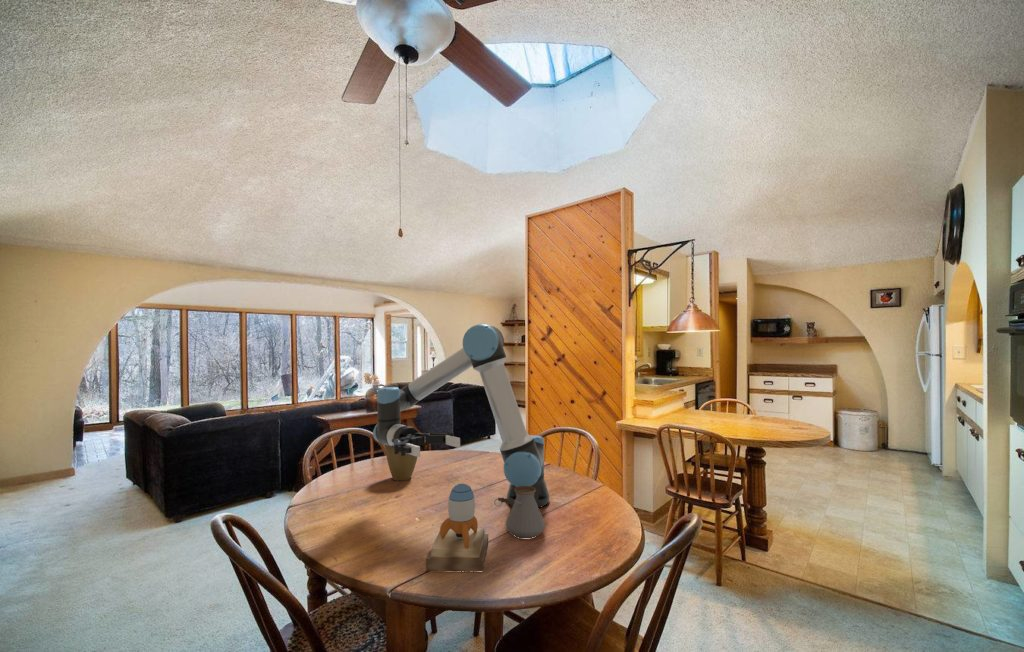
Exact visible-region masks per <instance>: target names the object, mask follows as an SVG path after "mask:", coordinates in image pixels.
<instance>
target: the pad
mask: <svg viewBox="0 0 1024 652" xmlns="http://www.w3.org/2000/svg"><path fill="white" fill-rule="evenodd" d="M488 549H489V533H485V528H484V527H483V528H482V527H477V532H476V533H475V532H474V531H473V530H472V529H470V530H469V547H468V549H466V548H465V546H464V541H463V537H462V538H459V537H457V536H456V533H455V532H454V531H453V530H451V529H450V530H449V531H448V532H447V534H446V535H445V537H444V538H441V536H440V531H439V532H438V533H437V536H436V538H435V540H434V542H433V544H432V546H431V548H430V550H429V552H428V554H427V556H426V558H425V571H461V572H460V573H471V572H470V571H473V572H472V573H475V572H474V571H483V572H484V569H485V564H484V563H486V559H485V558H487V554H488ZM483 568H484V569H483ZM462 571H464V572H462ZM465 571H467V572H465Z"/></svg>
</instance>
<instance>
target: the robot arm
mask: <svg viewBox="0 0 1024 652" xmlns="http://www.w3.org/2000/svg"><path fill="white" fill-rule="evenodd" d="M504 345H505V338H504V336H503V333H502V332H501V330H500V329H499V328H497V327H495V326H493V325H489V324H486V323H479V324H475V325H473V326H471V327H469V328H468V329H467V330H466V331H465V333H464V335H463V337H462V348H461V349H459V350H457V351H456V352H454V353H453V354H451V355H450V356H448V357H447V358H445V359H444V360H442V361H441V362H439V363H438V364H436V365H435V366H433V367H432V368H430V369H429V370H427V371H426V372H424V373H423V374H421V375H420V376H418V377H417V378H416V379H414V380H412V381H411V382H409V383H408V384H407V385H405V386H403V387H402V388H399V387H398V386H385V387H380V388H378V389H377V395H376V397H377V398H376V404H377V405H376V407H377V423H376V425H375V426H374V428H373V430H372V436H373V438H374V440H375V441H377V443H380V444H381V445H384V446H385V445H388V446H392V448H394V454H398V453H399V452H401V456H405V453H407V454H410V455H413V456H416V457H417V458H419V457H421V446H428V445H429V444H445V445H447V446H450V447H456V448H460V447H461V437H457V436H454V433H451V432H447V433H446V432H431V431H428V432H426V433H424V432H423V433H422V432H419V431H418V430H417V428H415V427H414V426H409V425H406V424H401V412H403V411H405V410H409V409H411V408H412V407H414V406H416V404H417V403H418V402H420V401H421V400H423V399H425V398H426V397H428V396H429V395H431V394H432V393H433V392H435V391H437V390H439V388H441V387H443V386H444V385H445V384H447V383H449V382H451V381H452V380H453V379H455V378H457V377H458V376H459V375H461V374H462V373H464V372H466V371H467V370H469V369H470V368H472V369H473V370H475V371H476V372H478V373H479V375H480V378H481V382H482V384H483V388H484V390H485V394H486V396H487V399H488V402H489V406H490V409H491V412H492V414H493V419H494V421H495V424H496V428H497V431H498V432H499V436H500V440H501V445H500V446H499V451H500V455H501V457H502V460H503V474H504V477H505V479H506V480H507V482H508V483H509V487H508V490H507V493H506V498H508V499H511V500H514V501H515V500H516V497H517V495H516V492H515V491H514V489H515V487H519V486H531V487H534V488H535V489H536V492H535V493H534V498H535V501H536V503H537V505H538V507H541V506H544V505H546V504H547V503H548V502H549V503H550V492H549V490H548V487H547V484H546V481H545V440H544V437H543V436H541V435H531V434H529V433H528V432H527V429H526V425H525V423H524V421H523V418H522V415H521V411H520V408H519V406H518V405H519V404H518V402H517V399H516V397H515V393H514V390H513V387H512V385H511V382H510V378H509V376H508V375H509V374H508V371H507V369H506V366H505V363H506V360H507V355H506V352H505V349H504ZM549 503H548V504H549ZM507 504H508V505H509V506H511V507H513V505H514V504H512V503H507ZM548 504H547V505H548ZM547 505H546V506H547ZM544 507H545V506H544ZM541 508H542V507H541Z"/></svg>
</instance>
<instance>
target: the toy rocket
mask: <svg viewBox="0 0 1024 652" xmlns="http://www.w3.org/2000/svg"><path fill="white" fill-rule="evenodd" d="M475 506H476V502H475V495H474V492H473V490H472V487H471V486H470V485H468V484H466V483H458V484H456V485H454V486H453V487H452V489H451V491H450V492H449V496H448V503H447V507H448V517H447V518H446V519H445V520H444V521H443V522H442V523H441V525H440V528H439V532H440V536H441V538H444V537H445V535H446V534H447V532H448V531H449V530H450V529H451V530H453V531H454V532H455V533H456V536H457V537H459V538H462V537H463V541H464V546H465V548H466V549H468V547H469V530H470V529H472V530H473V531H474V532H475V533H476V532H477V528H479V527H478V526H479V525H478V519H477V517H476V515H475V511H476V510H475V508H476V507H475Z"/></svg>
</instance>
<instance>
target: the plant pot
mask: <svg viewBox="0 0 1024 652" xmlns="http://www.w3.org/2000/svg"><path fill="white" fill-rule="evenodd" d="M384 451H385V456H386V461H387V465H388V469H389V471H390V475H391V477H392V480H394V481H396V480H404V481H408V480H410V479H411V478H412V477H413V472H414V471H415V467H416V463H417V461H418V460H417V459H418V457H416V456H413V455H410V454H407V453H405V456H401V452H399V453H398V454H394V448H392V446H388V445H384ZM407 479H408V480H407Z"/></svg>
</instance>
